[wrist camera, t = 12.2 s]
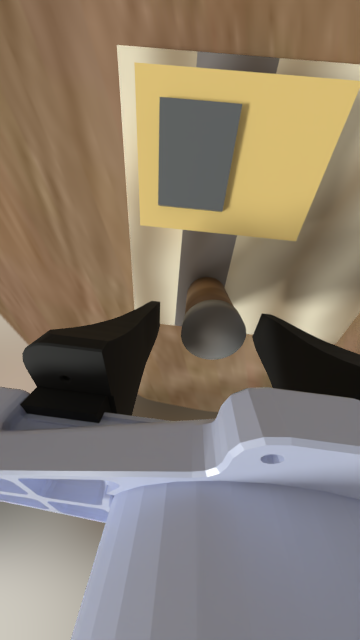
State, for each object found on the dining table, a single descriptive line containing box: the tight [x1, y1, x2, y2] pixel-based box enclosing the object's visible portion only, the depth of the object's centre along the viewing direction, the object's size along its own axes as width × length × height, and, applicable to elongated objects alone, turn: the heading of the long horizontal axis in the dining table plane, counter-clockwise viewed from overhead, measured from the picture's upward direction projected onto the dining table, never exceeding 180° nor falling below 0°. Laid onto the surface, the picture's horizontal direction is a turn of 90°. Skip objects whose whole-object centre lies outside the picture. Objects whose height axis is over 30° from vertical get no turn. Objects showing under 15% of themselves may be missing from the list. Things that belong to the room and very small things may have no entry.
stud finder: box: [134, 62, 360, 241], centre depth 8 cm, size 8×5×4 cm, turn 85°
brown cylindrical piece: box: [181, 277, 246, 359], centre depth 12 cm, size 4×4×6 cm
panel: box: [117, 45, 360, 344], centre depth 12 cm, size 20×16×1 cm
